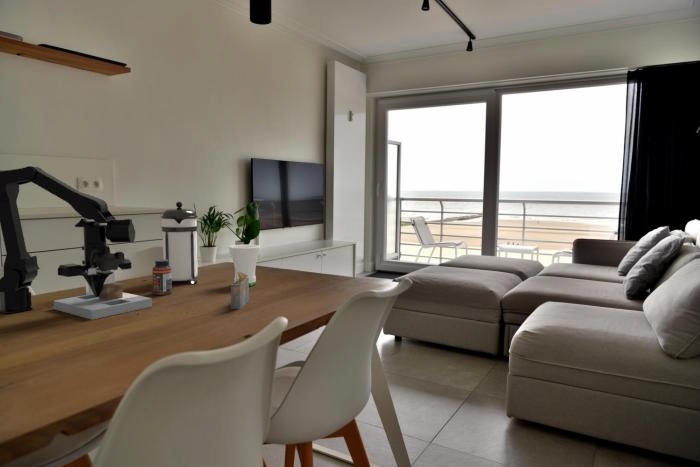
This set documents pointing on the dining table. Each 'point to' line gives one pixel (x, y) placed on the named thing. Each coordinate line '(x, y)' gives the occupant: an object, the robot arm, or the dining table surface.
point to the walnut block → (111, 291)
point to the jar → (108, 280)
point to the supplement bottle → (162, 278)
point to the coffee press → (180, 242)
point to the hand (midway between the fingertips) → (97, 296)
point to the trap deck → (101, 305)
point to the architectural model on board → (240, 292)
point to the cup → (245, 260)
